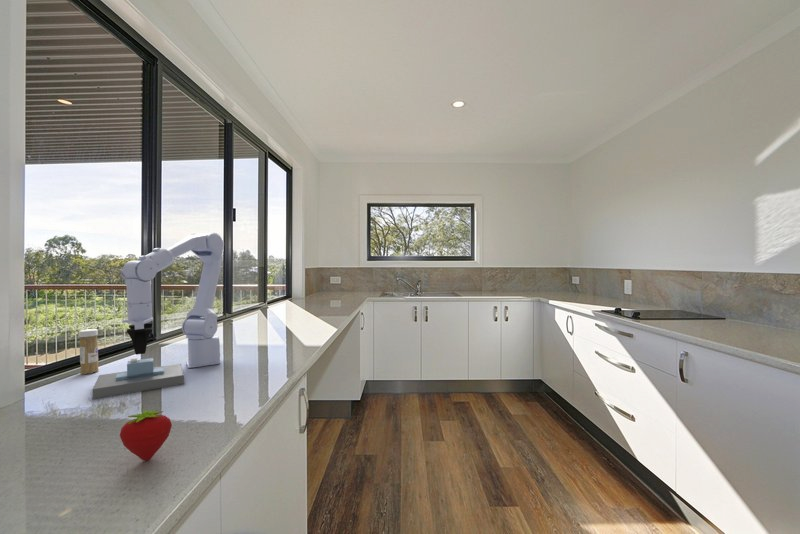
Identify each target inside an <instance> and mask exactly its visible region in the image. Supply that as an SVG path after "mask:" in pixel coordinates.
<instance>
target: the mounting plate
mask: <svg viewBox="0 0 800 534" xmlns="http://www.w3.org/2000/svg"><path fill="white" fill-rule="evenodd" d="M163 367H164V374H157V375H154V376H148V377H142V378H135V379H129V380H125V379H124V380H117V381H116V376H117V374H121V373H127V370H125V371H121V372H111V373H105V374H99V375H98V377H97V379H96V381H95V383H94V385H93V388H92V399H93V398H96V399H100V398H99V397H102V398H107V397H106V396H108V397H113V396H112V395H114V396H119V395H118V394H120V395H125V394H132V393H137V392H143V391H150V390H155V389H162V388H168V387H172V386H173V387H174V386H178V385H179V386H181V385H184V384H185V374H184V371H183V366H182V363H175V364H169V365H163V366H154V369H156V368H163Z"/></svg>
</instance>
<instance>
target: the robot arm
mask: <svg viewBox="0 0 800 534" xmlns="http://www.w3.org/2000/svg"><path fill="white" fill-rule="evenodd" d="M224 246H225V242H224V240H223V238H222V237H221V235H220V234H219V233H216V232H211V233H191V234H190V235H186V236H185V237H184V238H183V239H181V240H180V241H178V242H176V243H175V244H173V245H171V246H169V247H168V248H165V247H155V248H153V249H152V251H151V252H150V253H148V254H146V255H140V256H138V259H137V260H129V261H127V262H125V263H124V265H123V267H122V269H121V270H120V275H121V277H122V278H123V280H124V283H125V284H124V285H125V286H126V308H127V309H126V310H127V313H126V315H127V316H126V317H127V318H124V319H122V320H121V323H125V324H126V323H127V324H129V325H128V327H129V328H127V329H126V333H127V334H128V336H129V338H130V339H131V343H132V346H133V350H134V354H135V355H137V356H138V355H145V354H146V351H147V345H148V341H149V336H150V335H151V332H152V330H153V327H152V326H153V321H154V317H153V302H152V301H153V300H152V298H153V297H152V296H153V295H152V280H153V279H154V278H155V277H156V275H157V273H158V272H160V271H162V270H164V269H167V268H168V267H170V266H171V265H172V264H173V263H174V259H175V258H178V257H179V256H182V255H184V254H186V253H188V252H192V253H193V254H194V255H195V256H196V257H198V259H200V260H202V262H203V266H202V270H201V275H200V279H199V283H198V287H197V293H196V298H195V302H194V307H193V308H192V309H191V310H189V311H188V312H187V313H186V317H185V319H184V320H183V322H182V323H181V331H182V333H183V335H185V336H186V337H185V339H187V360H188V361H186V367H187V369H192V368H193V369H194V368H199V367H200V368H201V367H206V366H212V365H218V364H219V365H220V364H221V349H220V348H221V345H220V338H219V336H218V335H215V334H216V333H217V331H218V328H219V327H218V317H219V316H218V315H217V313H216V312H215V311H214V309H213V307H214V302H215V296H216V291H217V287H218V283H219V277H220V274H221V268H222V267H221V266H222V263H223V250H224V248H225V247H224Z"/></svg>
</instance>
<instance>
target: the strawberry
mask: <svg viewBox="0 0 800 534" xmlns="http://www.w3.org/2000/svg"><path fill="white" fill-rule="evenodd" d="M143 408H144V404H142V406H141V413H137V414H132V415H128V416H127V418H132V419H131V420H128V421H127V422H126V423H125V424H124V425H123V426H122V427H121V428H120V434H119V437H120V440H121V443H122V444H123V447H125V448H126V449H127V450H129V451H130V453H132V454H134V455H135V456H136V457H138V458H139V459H140V460H142V461H144V462H145V461H149V460H151V459H152V458H153V457H154V455H155V454H156V453H157V452H158V450H160V449H161V447H162V446H163V444H164V443H165V442H166V440H167V439H168V437H169V436H170V433H171V429H172V427H173V424H172V422H171V419H170V418H169V417H167V416H166V415H164V414H161V413H164V410H162V411H158V409H155V410H151V411H148V410H147V409H146V410H144V411H143Z"/></svg>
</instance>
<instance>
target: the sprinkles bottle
mask: <svg viewBox="0 0 800 534" xmlns="http://www.w3.org/2000/svg"><path fill="white" fill-rule="evenodd" d="M98 335H99V329H97V328H87V329H81V330H78V337H79V363H80V372H79V373H80V374H82V375H88V374H87V373H91V374H94V373H93V372H95V373H97V372H99V370H100V369H99V348H98V347H99V346H98Z"/></svg>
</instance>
